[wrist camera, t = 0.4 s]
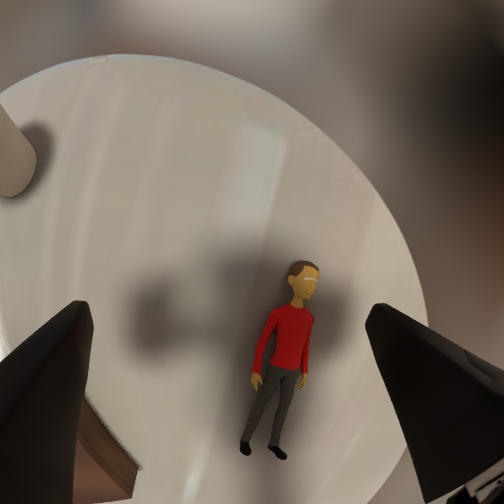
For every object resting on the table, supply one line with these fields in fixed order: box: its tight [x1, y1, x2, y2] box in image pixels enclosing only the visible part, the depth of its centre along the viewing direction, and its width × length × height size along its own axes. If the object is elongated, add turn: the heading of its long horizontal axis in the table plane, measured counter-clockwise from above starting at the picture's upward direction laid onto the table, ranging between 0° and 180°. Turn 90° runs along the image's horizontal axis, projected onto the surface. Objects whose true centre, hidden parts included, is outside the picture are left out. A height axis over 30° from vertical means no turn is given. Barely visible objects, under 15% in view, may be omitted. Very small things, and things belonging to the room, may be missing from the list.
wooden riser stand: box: [73, 398, 138, 504], centre depth 15 cm, size 14×12×7 cm
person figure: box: [240, 261, 319, 460], centre depth 22 cm, size 5×4×18 cm
